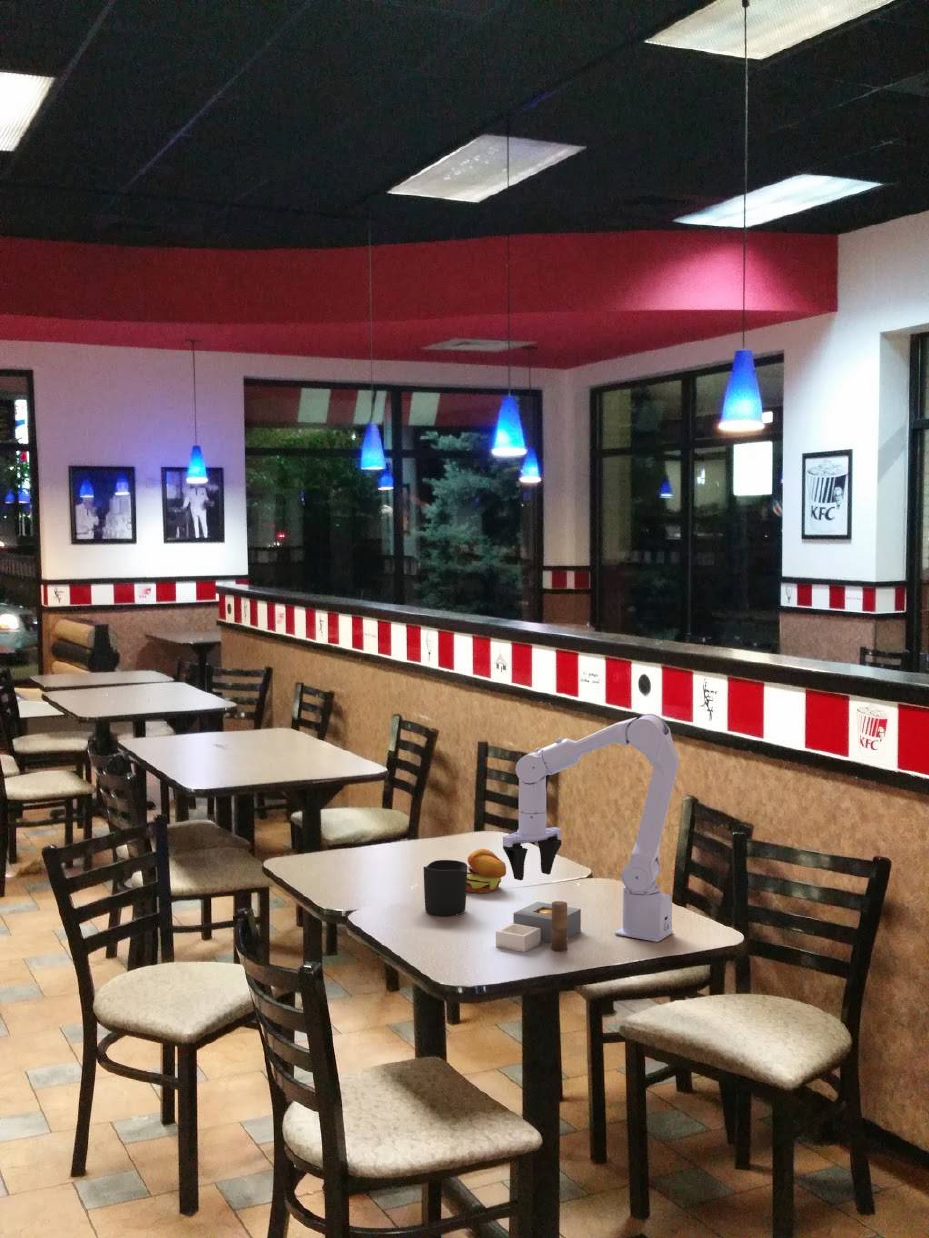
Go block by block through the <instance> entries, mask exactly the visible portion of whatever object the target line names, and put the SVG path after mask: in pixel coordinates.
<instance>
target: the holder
mask: <svg viewBox="0 0 929 1238" xmlns="http://www.w3.org/2000/svg"><path fill="white" fill-rule="evenodd" d="M541 941H542V940H541V928H536V927H530V926H525V925H519V924H514V923H513V922H512V923H510V924H507V925H506V926H503V927H502V928H500V929H497V930H496V931H495V947H498V948H501V949H507V950H513V951H517V952H522V953H525V952H527V951H529V950H532V949H533V948H535V947H536V946H539V945H540V944H541Z"/></svg>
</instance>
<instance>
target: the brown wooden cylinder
mask: <svg viewBox="0 0 929 1238" xmlns="http://www.w3.org/2000/svg"><path fill="white" fill-rule="evenodd" d="M551 904H552V942H550V943H551V947H550V948H551V951H553V952H557V953H558V952H559V953H560V952H561V953H562V952H566V951H567V950H568V938H567V907H568V902H566V901H562V900H557V901H552V902H551Z"/></svg>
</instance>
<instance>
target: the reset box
mask: <svg viewBox="0 0 929 1238" xmlns="http://www.w3.org/2000/svg"><path fill="white" fill-rule="evenodd" d="M541 910H552V903H548V902H547V903H546V902H542V901H536V902H534V903H532V904H530V905H528V906H526V907H523V908H522V909H518V910H517V911H514V912H513V914H512V915H513V916H512V917H513V922H512V923H514V924H519V925H525V926H530V927H536V928H541V941H543V942H547V943H548V942H549V943H551V942H552V915H547V914H541V913H538V912H540V911H541ZM581 915H582V908H577V907H571V906H567V939H569V938H570V937H573V936H574V935H576V934H577V933H579V932H581V929H582V927H581V926H582V924H581V923H582V922H581V919H582V916H581Z"/></svg>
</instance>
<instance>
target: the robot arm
mask: <svg viewBox="0 0 929 1238" xmlns="http://www.w3.org/2000/svg"><path fill="white" fill-rule="evenodd" d="M612 744H617V745H622V746H628V745H629V744H630V746H632V747H633V748H634V749H635V750H637V751H638V752H640V753H641V754H643V755H644V757H645V758H646V760H647V761H648V762H649V763H650V764H651V766H652V772H651V776H650V781H649V784H648V785H649V786H648V789H647V793H646V796H645V797H646V798H645V802H644V806H643V809H642V815H641V818H640V823H639V827H638V830H637V831H638V832H637V836H636V840H635V844H634V846H633V849H632V852H631V855H630V858H629V860H628V862H627V864H626V865H625V866H624V867H623V869H622V872H621V880H622V883H623V886H622V927H621V928H619V929H618V930H616V931H615V932H614V935H616V936H622V937H627V938H633V939H638V940H639V939H640V940H645V941H650V942H656V943H658V942H660V941H662V940H664V939H665V938H667V937H668V936H670V935H671V934H673V933H674V930H673V929H672V928H673V900H672V897H671V895H670V894H667V893H664V892H663V891H661V890H660V886H659V885H658V882H657V881H656V879H657V878H658V877H659V875H660V872H661V864H660V860H659V857H660V852H661V851H660V850H661V841H662V837H663V833H664V829H665V824H666V819H667V816H668V811H669V807H670V803H671V798H672V795H673V792H674V786H675V782H676V778H677V774H678V770H679V766H680V757H679V754H678V751H677V749H676V747H675V743H674V741H673V737H672V732H671V728H670V726H669V725H667V723H666V722H665V721H664V720H663V719H662V717H660V716H659V715H657V714H654V713H646V714H643V715H641V716H640V717H639V718H638V717H632V718H628V719H625V720H622V721H618V722H615V723H614V724H611V725H609V726H607V727H604V728H602V729H601V730H598V731H596V732H594V733H592V734H588V735H587V736H585V737H583V738H580V739H578V740H574V739H571V738H568V737H566V738H564V739H563V737H559V738H556V739H555V740H554V743H552V744H550V745H547V746H545V747H543V748H541V747H537V748H535V749H534V751H532V752H529V753H527V754H525V755H524V756H522V757H521V758H520V759H519V760H518V761H517V763H516V765H515V774H516V776H517V778H518V829H516V830H517V831H515V832H513V833H510V834H508V835H504V836H502V849H503V851H504V853H505V854H506V857H507V859H508V860H509V864H510V867H511V870H512V874H513V879H514V880H517V881H523V880H524V876H525V860H526V857H527V854H528V850H529V849H528V848H525V847H523V845H524V844H528V843H534V842H537V844H538V849H539V850H538V851H539V857H540V871H541V873H542V874H545V875H551V873H552V869H553V864H554V862H555V859H556V855H557V853H558V851H559V850H560V848H561V846H562V839H560V838H562V828H561V827H557V826H556V827H547V783H546V782H547V777H546V776H548V775H549V776H551V775H555V774H557V773H560V772H562V771H564V770H567V769H569V768H571V767H574V766H576V765H578V764H579V763H580V762H581V758H582V756H584V755H585V754H586V755H587V754H589V753H592V752H594V751H596V750H600V749H601V748H604V747H607V746H609V745H612Z"/></svg>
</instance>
